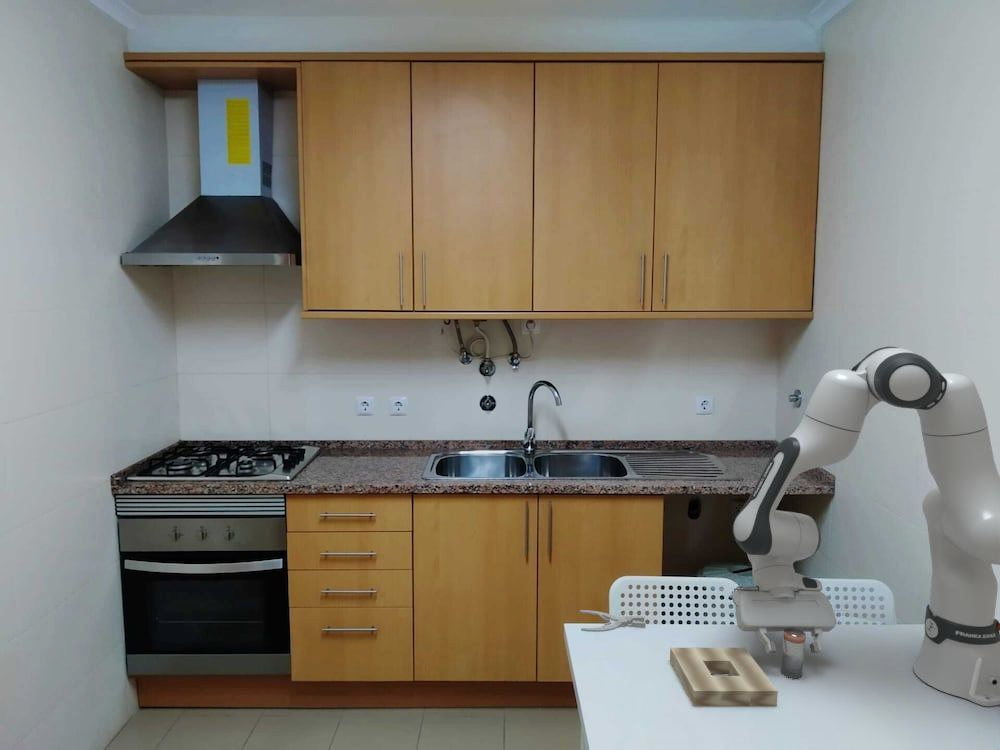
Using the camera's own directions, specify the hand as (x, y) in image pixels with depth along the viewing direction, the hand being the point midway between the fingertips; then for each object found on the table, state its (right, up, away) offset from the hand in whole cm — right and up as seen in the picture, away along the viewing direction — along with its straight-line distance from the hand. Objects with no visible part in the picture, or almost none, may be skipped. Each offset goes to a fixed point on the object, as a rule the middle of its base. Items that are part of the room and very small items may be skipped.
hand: (794, 652), depth 142 cm
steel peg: (0, -5, +1) cm, 5 cm away
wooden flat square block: (-16, -5, -3) cm, 17 cm away
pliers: (-34, -2, +22) cm, 40 cm away
